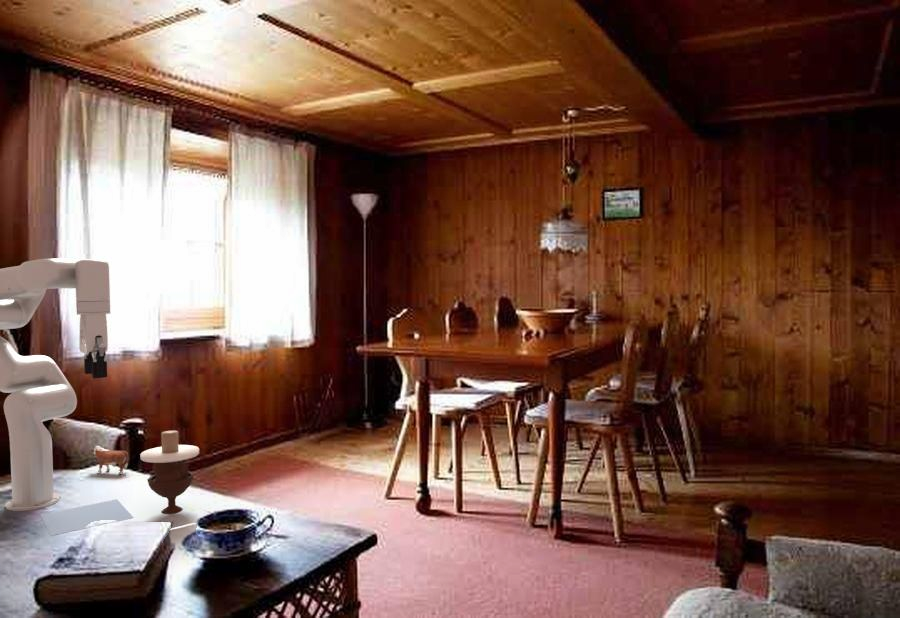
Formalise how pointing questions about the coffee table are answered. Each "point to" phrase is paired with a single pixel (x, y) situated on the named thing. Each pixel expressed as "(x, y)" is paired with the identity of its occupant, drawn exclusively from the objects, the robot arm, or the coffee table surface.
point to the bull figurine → (110, 458)
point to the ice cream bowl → (170, 482)
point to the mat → (84, 516)
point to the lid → (169, 450)
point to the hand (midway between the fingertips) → (95, 375)
